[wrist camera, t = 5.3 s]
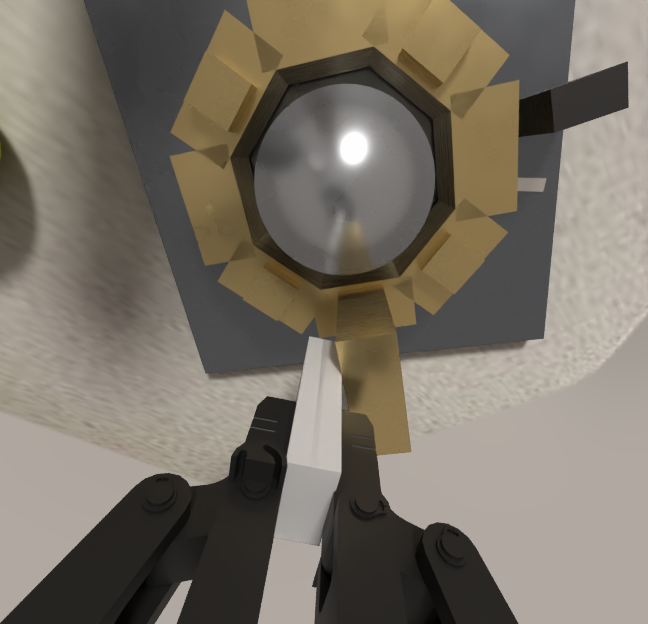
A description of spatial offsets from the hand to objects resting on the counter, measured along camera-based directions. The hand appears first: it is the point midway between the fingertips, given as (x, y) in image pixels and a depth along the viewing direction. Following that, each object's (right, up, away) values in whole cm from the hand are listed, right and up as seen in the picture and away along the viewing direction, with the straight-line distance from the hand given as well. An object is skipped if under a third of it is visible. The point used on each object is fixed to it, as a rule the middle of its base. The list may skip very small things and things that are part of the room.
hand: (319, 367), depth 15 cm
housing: (+1, +9, +4) cm, 10 cm away
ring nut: (+1, +7, +3) cm, 8 cm away
